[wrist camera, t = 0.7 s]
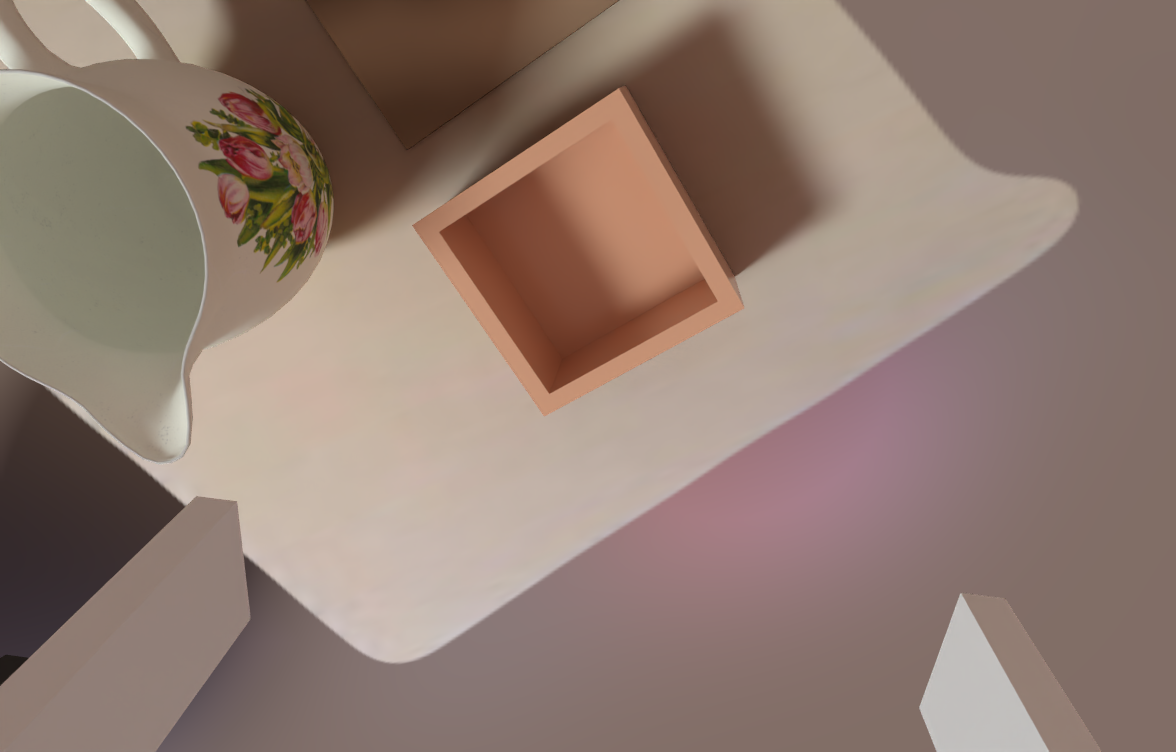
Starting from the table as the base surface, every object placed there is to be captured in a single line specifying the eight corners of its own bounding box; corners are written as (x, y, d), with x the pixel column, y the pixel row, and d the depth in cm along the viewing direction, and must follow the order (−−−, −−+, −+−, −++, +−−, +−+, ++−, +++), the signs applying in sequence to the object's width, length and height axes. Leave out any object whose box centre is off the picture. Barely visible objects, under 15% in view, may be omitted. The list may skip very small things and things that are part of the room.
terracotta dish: (445, 205, 36) (412, 225, 31) (625, 85, 33) (618, 88, 28) (559, 374, 39) (544, 416, 34) (734, 276, 36) (744, 307, 31)
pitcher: (259, -87, 32) (-10, -189, 19) (428, 304, 38) (306, 423, 25) (53, 9, 34) (-308, -25, 22) (243, 363, 40) (46, 500, 27)
